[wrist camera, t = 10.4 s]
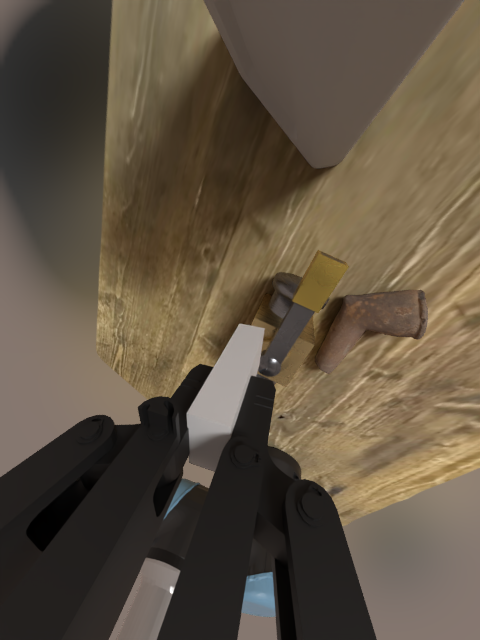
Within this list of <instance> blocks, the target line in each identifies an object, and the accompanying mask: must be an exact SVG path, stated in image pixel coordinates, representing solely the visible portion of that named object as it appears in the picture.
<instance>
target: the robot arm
mask: <svg viewBox="0 0 480 640" xmlns="http://www.w3.org/2000/svg"><path fill="white" fill-rule="evenodd" d="M264 330H265V328H261V327H256V326H250V325H245V324H239V325H238V327H237V329H236V330H235V332H234V334H233V335H232V337H231V339H230V341H229V342H228V344H227V346H226V347H225V349H224V351H223V352H222V354H221V356H220V358H219V359H218V361H217V363H216V364H215V366H214V367H211V366H207V365H203V364H199V365H198V366H196V367H195V368H193V369H192V370H191V371H190V372H189V373H188V375H187V376H186V378H185V379H184V380H183V382H182V383H181V385H180V386H179V387H178V389H177V390H176V391H175V393H174V394H173V396H172V397H171V398H169V397H162V396H160V397H154V398H151V399H149V400H147V401H145V402H143V403H142V404H141V405H140V406H139V407H138V411H139V416H140V421H141V424H135V425H114V422H113V420H112V419H111V418H110V417H108V416H106V415H96V416H92V417H89V418H86V419H85V420H83V421H81V422H79V423H77V424H76V425H75V426H73V427H72V428H70V429H69V430H67V431H66V432H65V433H63V434H62V435H60V436H59V437H57V438H56V439H55V440H53V441H52V442H50V443H49V444H47V445H46V446H45V447H43V448H42V449H40V450H39V451H37V452H36V453H34V454H33V455H32V456H30V457H29V458H28V459H26V460H24V461H23V462H22V463H20V464H19V465H17V466H16V467H15V468H13V469H12V470H10V471H9V472H7V473H6V474H4V475H3V476H2V477H0V640H108V639H109V637H110V635H111V633H112V631H113V629H114V626H115V624H116V622H117V620H118V618H119V615H120V613H121V611H122V609H123V607H124V604H125V602H126V600H127V598H128V596H129V594H130V591H131V589H132V587H133V585H134V583H135V580H136V578H137V576H138V574H139V572H140V570H141V584H140V586H139V589H138V591H137V593H136V596H135V598H134V600H133V602H132V604H131V607H130V609H129V611H128V614H127V616H126V618H125V621H124V623H123V625H122V628H121V630H120V632H119V634H118V636H117V638H116V640H237V637H238V630H239V624H240V618H241V612H242V613H246V614H250V615H256V616H263V617H274V616H276V626H277V639H278V640H377V639H376V636H375V633H374V629H373V626H372V623H371V620H370V616H369V613H368V610H367V607H366V603H365V600H364V597H363V593H362V590H361V587H360V584H359V580H358V577H357V574H356V570H355V567H354V564H353V561H352V557H351V554H350V551H349V547H348V545H347V541H346V537H345V534H344V531H343V528H342V524H341V521H340V518H339V515H338V511H337V509H336V507H335V504H334V502H333V500H332V498H331V497H330V495H329V494H328V493H327V492H326V491H325V489H324V488H323V487H321V486H320V485H318V484H317V483H315V482H313V481H310V480H306V479H303V480H301V468H300V466H299V464H298V463H297V462H296V460H295V459H294V458H292V457H291V456H290V455H288V454H287V453H285V452H283V451H281V450H278V449H276V448H272V447H268V436H269V430H270V423H271V417H272V411H273V404H274V398H275V392H276V389H275V386H274V384H273V381H272V380H268V379H264V378H259V377H256V375H257V372H258V368H259V364H260V357H261V350H262V344H263V337H264ZM188 456H189V463H191V464H194V465H197V466H200V467H203V468H205V469H208V470H211V471H214V472H215V473H214V476H213V479H212V482H211V485H210V488H206V487H205V486H202V485H201V484H200V483H195V482H192V481H190V480H187V479H182V476H183V466H184V464H185V462H186V460H187V458H188Z"/></svg>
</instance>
